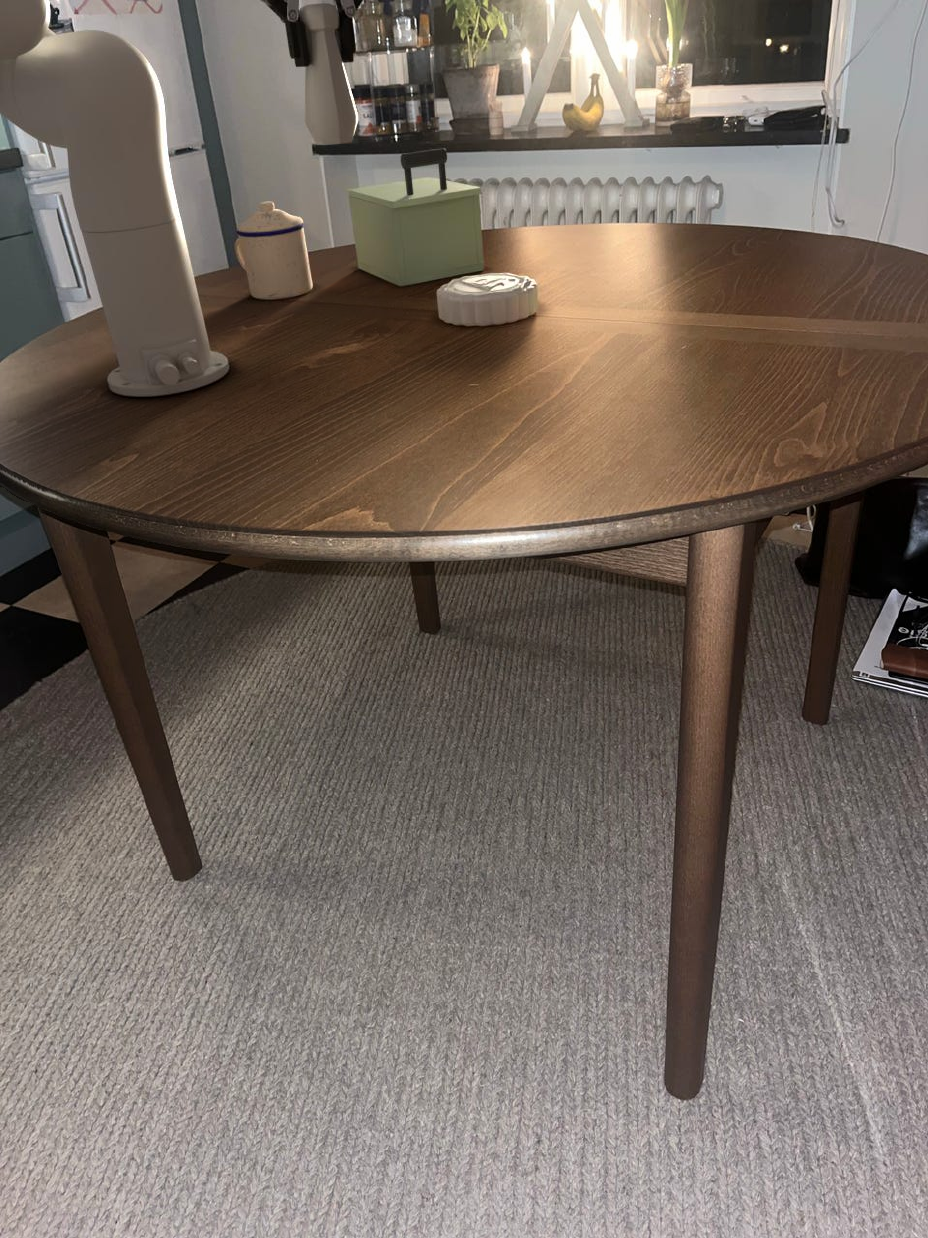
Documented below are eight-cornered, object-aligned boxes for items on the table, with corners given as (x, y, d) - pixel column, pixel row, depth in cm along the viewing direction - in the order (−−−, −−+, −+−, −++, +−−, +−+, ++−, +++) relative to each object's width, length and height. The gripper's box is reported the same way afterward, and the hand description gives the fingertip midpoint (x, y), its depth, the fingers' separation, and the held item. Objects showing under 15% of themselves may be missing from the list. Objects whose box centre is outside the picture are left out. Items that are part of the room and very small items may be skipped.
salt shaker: (300, 146, 104) (278, 6, 97) (321, 140, 108) (302, 6, 101) (348, 144, 102) (330, 1, 95) (368, 137, 106) (352, 1, 100)
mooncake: (557, 312, 110) (557, 280, 108) (469, 333, 106) (467, 300, 104) (504, 294, 119) (502, 265, 118) (421, 313, 115) (417, 283, 113)
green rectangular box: (484, 269, 132) (479, 193, 127) (400, 286, 128) (391, 207, 123) (436, 253, 145) (429, 182, 140) (358, 268, 140) (348, 195, 135)
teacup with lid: (328, 286, 132) (314, 196, 125) (283, 302, 126) (266, 209, 119) (267, 281, 138) (251, 195, 132) (221, 296, 132) (202, 207, 126)
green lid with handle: (482, 193, 127) (479, 145, 123) (393, 208, 122) (388, 159, 119) (429, 182, 140) (426, 138, 136) (348, 195, 135) (342, 150, 132)
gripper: (220, -161, 86) (258, 71, 95) (390, -162, 91) (409, 56, 101) (202, -145, 91) (239, 71, 101) (362, -147, 97) (383, 58, 107)
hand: (324, 62), depth 101 cm, fingers closed on salt shaker, 4 cm apart
